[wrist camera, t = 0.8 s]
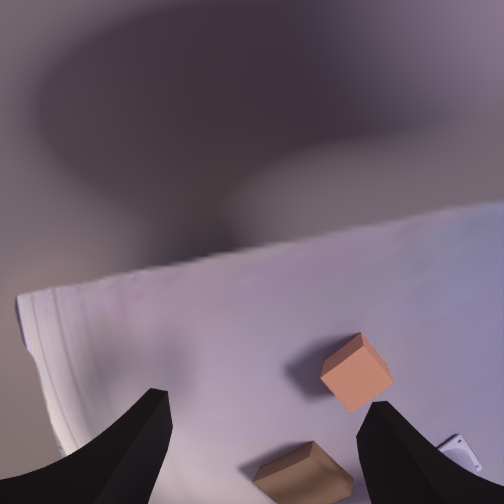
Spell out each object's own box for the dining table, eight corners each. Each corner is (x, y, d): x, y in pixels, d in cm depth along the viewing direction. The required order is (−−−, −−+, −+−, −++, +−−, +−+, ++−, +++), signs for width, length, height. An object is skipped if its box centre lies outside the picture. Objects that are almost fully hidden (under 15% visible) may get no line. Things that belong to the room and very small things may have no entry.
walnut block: (353, 476, 25) (352, 494, 21) (300, 499, 26) (294, 517, 23) (313, 439, 26) (309, 456, 23) (261, 465, 28) (252, 482, 25)
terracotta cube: (387, 364, 24) (393, 382, 20) (351, 391, 25) (350, 412, 21) (360, 331, 25) (363, 345, 21) (324, 360, 26) (320, 377, 22)
